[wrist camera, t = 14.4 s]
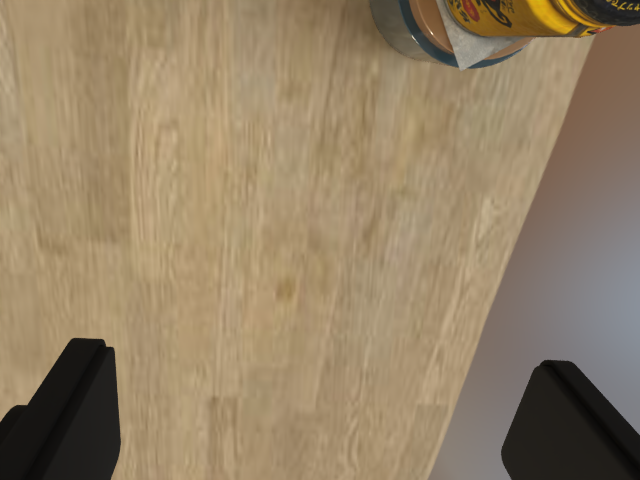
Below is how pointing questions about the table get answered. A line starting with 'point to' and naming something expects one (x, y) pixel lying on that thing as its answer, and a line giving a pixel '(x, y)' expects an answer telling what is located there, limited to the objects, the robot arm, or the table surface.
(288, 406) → the table surface
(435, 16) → the blue jar
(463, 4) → the yellow coffee bottle
